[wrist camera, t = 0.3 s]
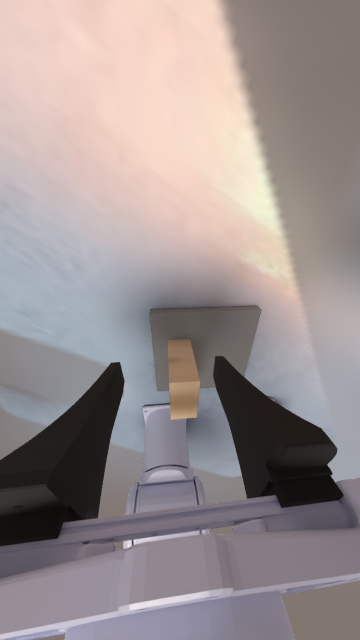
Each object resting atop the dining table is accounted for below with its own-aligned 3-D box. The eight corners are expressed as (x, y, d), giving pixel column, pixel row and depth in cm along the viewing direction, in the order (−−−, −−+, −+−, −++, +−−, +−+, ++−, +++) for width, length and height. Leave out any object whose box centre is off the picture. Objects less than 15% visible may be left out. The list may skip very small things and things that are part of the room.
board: (238, 379, 29) (241, 385, 28) (157, 385, 28) (157, 391, 27) (256, 305, 22) (261, 309, 21) (150, 309, 21) (149, 313, 20)
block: (188, 371, 25) (196, 417, 19) (168, 372, 25) (170, 419, 19) (189, 339, 22) (200, 381, 16) (167, 340, 22) (169, 383, 16)
